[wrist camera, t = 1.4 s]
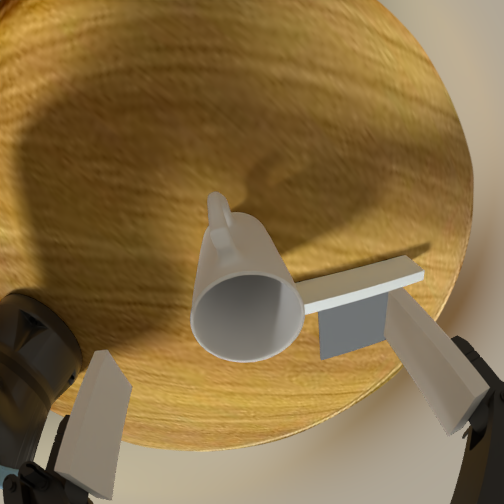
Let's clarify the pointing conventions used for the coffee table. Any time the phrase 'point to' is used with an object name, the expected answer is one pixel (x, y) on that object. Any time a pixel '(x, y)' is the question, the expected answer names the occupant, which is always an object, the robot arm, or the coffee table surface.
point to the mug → (242, 289)
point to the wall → (358, 283)
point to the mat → (352, 325)
